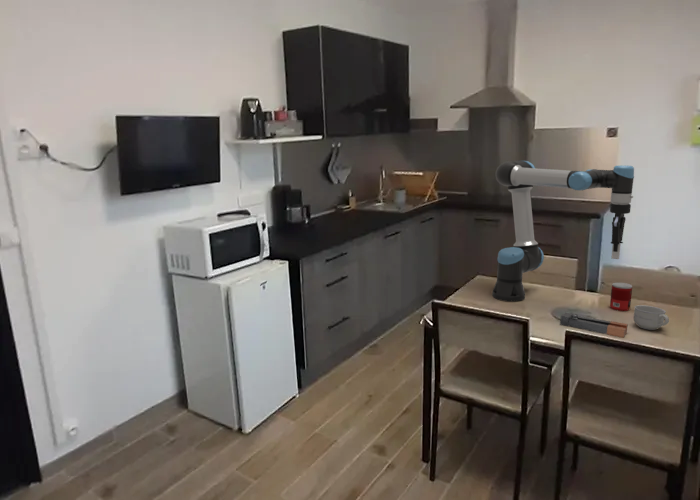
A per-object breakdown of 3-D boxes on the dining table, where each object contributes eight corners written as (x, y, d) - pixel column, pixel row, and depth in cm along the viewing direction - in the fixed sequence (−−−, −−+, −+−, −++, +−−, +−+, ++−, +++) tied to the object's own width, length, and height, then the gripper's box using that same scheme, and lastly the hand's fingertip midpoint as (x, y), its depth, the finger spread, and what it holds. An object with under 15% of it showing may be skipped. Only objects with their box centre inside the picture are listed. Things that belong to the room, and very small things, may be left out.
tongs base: (560, 324, 208) (560, 315, 207) (564, 320, 212) (565, 312, 211) (623, 337, 193) (624, 328, 193) (626, 333, 198) (627, 324, 197)
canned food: (632, 311, 221) (635, 287, 219) (612, 310, 223) (615, 286, 221) (626, 306, 229) (629, 282, 226) (607, 305, 230) (609, 282, 228)
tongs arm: (570, 324, 207) (570, 315, 206) (572, 322, 210) (572, 312, 209) (625, 334, 196) (626, 324, 195) (627, 331, 199) (628, 321, 198)
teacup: (626, 323, 209) (628, 304, 207) (651, 321, 209) (653, 303, 208) (649, 336, 195) (651, 316, 193) (675, 334, 196) (678, 315, 194)
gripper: (627, 205, 203) (621, 262, 208) (634, 202, 213) (628, 256, 218) (606, 204, 207) (601, 260, 213) (614, 201, 217) (609, 254, 222)
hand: (615, 258), depth 215 cm, fingers closed
